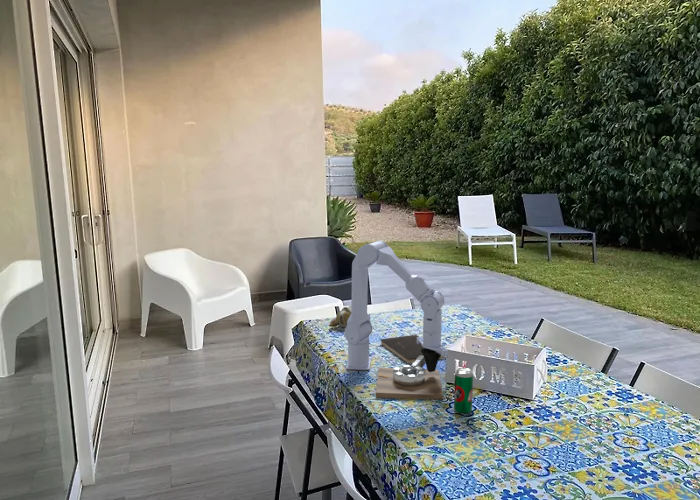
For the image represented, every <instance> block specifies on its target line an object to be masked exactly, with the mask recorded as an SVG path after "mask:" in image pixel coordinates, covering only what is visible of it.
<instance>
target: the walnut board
mask: <svg viewBox="0 0 700 500" xmlns="http://www.w3.org/2000/svg"><path fill="white" fill-rule="evenodd" d="M394 368H395V367H378V368H377V378H376V388H375V398H382V399H383V398H385V399H406V400H407V399H410V400H411V399H412V400H414V399H415V400H437V401H438V400H439V401H442V400H444V392H443V391H444V390H443V387H442V380H441V376H440V370H439V369H435V371H434V372H429V371H428V370H427V368H426V369H425V368H423V371H424V372H425V382H424V383H423V384H421V385H418V386H402V385H399V384H396V383H395V382H394V381H393V369H394Z"/></svg>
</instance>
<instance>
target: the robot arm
mask: <svg viewBox="0 0 700 500" xmlns="http://www.w3.org/2000/svg"><path fill="white" fill-rule="evenodd" d="M374 264H376V265H379V266H381V265H382V266H386V267H388V268H390V270H392V271H393V273H395V274H396V275H397V276H398V277H399V278H400V279H401V280H402V281H403V282H405V285H404V286H405V289H406V290H407V291H409V293H410V294H411V295H412V296H413V297H414V298H415V299H416V300H417V301H418V302H419V303H420V308H421V310H422V312H423V316H422V317H423V319H422V321H423V322H422V327H423V328H422V336H419V337H418V338H417V344H421V345H422V346H423V347H424V349H421V352H422V354H423V356H424V359H425V366H426V369H427V370H428V371H429V372H434V371H435V370H437V365H438V362H439V360H440V359H439V358H440V356H442V357H444V356H447V357H448V356H449V349H447V348H446V347H445V346H444V341H442V317H443V316H442V310H443V309H442V307H444V305H445V298H444V296H443V294H442V293H441V292H440V291H436V289H434V288H432V287H431V286H430V285H429V284H428V283H427V282H426V281H425V280H426V279H425V277H423V276H420V275H418V274H413V273H412V272H411V271H410V270H409V268H408V267H407V266H406V265H405V264H404V263H403V262H402V261H401V260H400V258H399V257H398V256H397V255H396V254H395V251H394V250H393V249H392V247H391V246H389V245H388V244H387V242H385V241H383V240H376V241H374V242H371V243H366V244H363V245H362V246H361V247H359V248H358V249H357V253H356V255H355V257H354V258H353V260H352V263H351V303H350V304H351V305H350V306H351V315H350V317H349V319H348V321H347V327H346V328H345V329H344V338H345V339H346V341H347V362H346V367H345V369H346V370H357V371H359V370H360V371H369V370H370V368H371V363H372V361H371V360H372V359H371V358H370V335H371V334H372V333H373V326H372V323H371V316H370V315H369V314H368V297H369V296H368V293H369V292H368V287H369V286H368V285H369V269H370V268H371V267H372V265H374Z"/></svg>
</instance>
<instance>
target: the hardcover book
mask: <svg viewBox="0 0 700 500" xmlns="http://www.w3.org/2000/svg"><path fill="white" fill-rule="evenodd" d="M418 337H420V336H419V335H417V334H411V335H404V336H395V337H388V338H381V339H379V340H380V343H381V345H382V346H384V347H385V348H386V349H387V350H389V351H390V352H391V353H393V354H394V355H396V356H397V357H398V358H400V359H402V361H404V362H405V363H407V365H410V364H413V363H414V362H415V361H416V359H417V358H418V357H419V356H420V355H423V354H422V352H421V349H424V347H423V346H422V345H421V344H417V338H418ZM442 358H443V359H446V358H445V356H444V357H442V356H440V358H439V360H441V359H442Z"/></svg>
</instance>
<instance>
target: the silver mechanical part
mask: <svg viewBox="0 0 700 500" xmlns="http://www.w3.org/2000/svg"><path fill="white" fill-rule="evenodd" d="M424 366H426V362H425V359H424V356H423V355H420V356H419V357H418V358H417V359H416V361H415V362H414V363H411V365H410V364H404V365H402V366H399V367H396V366H395V367H393V368H394V369H393V381H394V382H395V383H396V384H399V385H402V386H418V385H421V384H423V383H424V382H425V372H424V371H423V369H424V368H423V367H424Z"/></svg>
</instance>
